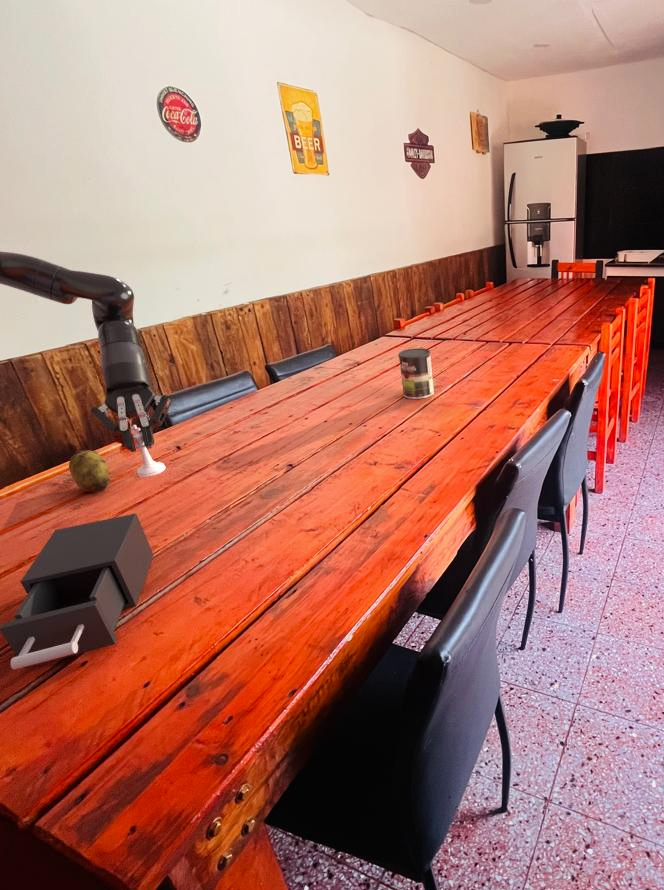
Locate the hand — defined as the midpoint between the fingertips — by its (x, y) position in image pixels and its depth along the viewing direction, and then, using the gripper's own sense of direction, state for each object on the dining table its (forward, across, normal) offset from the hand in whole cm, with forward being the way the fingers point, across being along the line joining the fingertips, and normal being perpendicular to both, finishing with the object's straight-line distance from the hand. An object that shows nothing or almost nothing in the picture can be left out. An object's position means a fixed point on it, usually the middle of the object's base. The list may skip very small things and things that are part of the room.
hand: (140, 448), depth 97 cm
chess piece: (+3, 0, -6) cm, 6 cm away
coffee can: (-20, -71, -46) cm, 87 cm away
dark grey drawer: (+32, +11, +7) cm, 35 cm away
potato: (-9, +18, -35) cm, 40 cm away
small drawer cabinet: (+24, +10, -2) cm, 26 cm away
